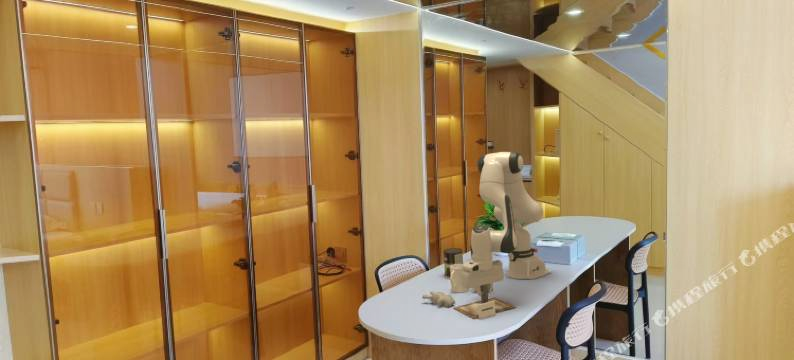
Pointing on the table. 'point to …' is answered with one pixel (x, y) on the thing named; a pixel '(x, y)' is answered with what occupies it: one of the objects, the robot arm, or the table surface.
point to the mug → (457, 278)
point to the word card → (486, 309)
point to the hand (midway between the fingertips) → (484, 294)
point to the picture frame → (472, 308)
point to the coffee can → (452, 259)
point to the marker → (484, 293)
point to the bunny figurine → (440, 299)
